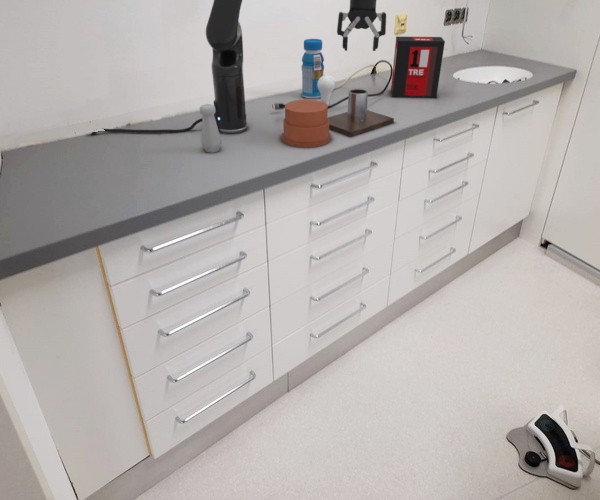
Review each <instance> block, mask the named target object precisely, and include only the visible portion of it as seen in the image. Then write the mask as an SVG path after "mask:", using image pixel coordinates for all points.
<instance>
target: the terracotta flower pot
mask: <svg viewBox="0 0 600 500" xmlns="http://www.w3.org/2000/svg"><path fill="white" fill-rule="evenodd" d="M328 109H329V106H328V105H327V104H326V103H324V102H322V100H317V99H296V100H292V101H289V102H287V103H286V104H285V105H284V118H283V121H282V124H283V132H282V134H281V140H282V142H283V143H284V144H286V145H288V146H291V147H296V148H316V147H317V148H318V147H321V146H324V145H326V144H328V143H329V142H330V141H331V136H332V135H331V132H330V129H329V119H328V113H329V111H328Z"/></svg>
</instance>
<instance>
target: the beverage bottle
mask: <svg viewBox="0 0 600 500" xmlns="http://www.w3.org/2000/svg"><path fill="white" fill-rule="evenodd" d="M303 50H304V53H303V55H302V56H301V62H302V64H301V83H302V84H301V96H302V97H303V98H306V99H321V93H320V91H319V89H318V86H317V84H318V80H319V79H320V78H321V77H322V76H324V71H325V65H324V61H325V59H324V55H323V53H322V52H321V51H322V50H323V40H322V39H320V38H306V39H304V40H303Z"/></svg>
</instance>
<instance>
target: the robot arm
mask: <svg viewBox="0 0 600 500" xmlns="http://www.w3.org/2000/svg"><path fill="white" fill-rule="evenodd" d="M242 3H243V0H213V2H212V7H211V10H210V14H209V17H208V20H207V23H206V28H205V38H206V41H207V43H208V45H209V46H210V47H211V48H212V59H211V75H212V83H213V93H214V94H213V95H214V99H213V105H214V106H215V110H216V112H215V114H214V117H215V120H216V124H217V127H218V130H219V133H223V134H238V133H241V132H244V131H247V129H248V124H247V123H248V122H247V118H248V117H247V112H246V111H247V109H246V95H245V94H246V93H245V82H244V45H243V43H244V41H243V30H242V26H241V23H240V21H239V19H240V13H241V8H242ZM346 18H348V20H349V22H350V23H348V25H347V26H346V28H345V29H344V30H343V22H344V21H346ZM376 19H378V21H379V22H380V30H379V31H378V29H377V28H376V27H375V25H374V22H375V21H376ZM353 29H356V30H360V29H362V30H367V29H370V30H371V32H372V34H373V35H374V36H373V39H372V40H373V41H372V52H376V50H378V48H379V43H380V42H379V41H380V38H381V37H383V36H385V35H386V34H387V33H386V31H387V13H386V12H385V11H382V12H377V0H349V11H348V12H343V11H339V12H338V17H337V27H336V34H337V35H338V36H340V37H342V49H344V52H347V51H348V42H349V41H348V40H349V37H348V36H349V34H350V33H351V32H352V31H353ZM200 123H202V117H201V118H199V119H197V120H195V121H194V122H193V123H192V124H191V125H190V126H189V127H186V128H181V129H131V128H129V129H128V128H103V129H104V130H105V131H98V132H93V131H92V132H91V133H90V136H95V135H96V134H97V133H101V132H103V133H104V132H105V133H138V134H139V133H140V134H141V133H142V134H146V133H147V134H152V133H153V134H154V133H155V134H157V133H158V134H159V133H160V134H161V133H174V134H175V133H185V132H188V131H192V130H193V129H194V128H195V127H196V126H197V125H198V124H200Z"/></svg>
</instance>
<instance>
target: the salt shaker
mask: <svg viewBox="0 0 600 500" xmlns="http://www.w3.org/2000/svg"><path fill="white" fill-rule="evenodd" d="M215 112H216V110H215V106H214V104H212V103H204V104H201V105H200V106H199V113H200V115H202V117H201V118H202V122H201V138H200V144H201V146H202V147H203V149H204V150H205V152H206V153H211V154H212V153H216V152H219V150H220V148H221V145H222V138H221V134H220V132H219V130H218V127H217V124H216V120H215V117H214V114H215Z"/></svg>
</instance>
